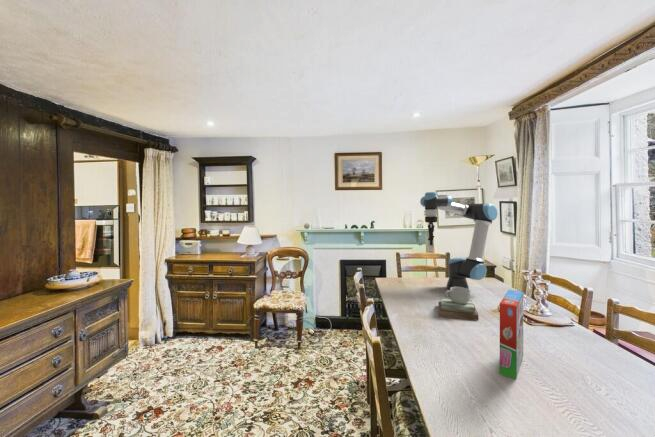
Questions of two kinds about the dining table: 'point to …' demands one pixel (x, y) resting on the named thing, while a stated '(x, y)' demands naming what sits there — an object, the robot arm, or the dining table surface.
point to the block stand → (457, 309)
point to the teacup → (459, 295)
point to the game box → (511, 333)
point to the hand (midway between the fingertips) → (431, 248)
